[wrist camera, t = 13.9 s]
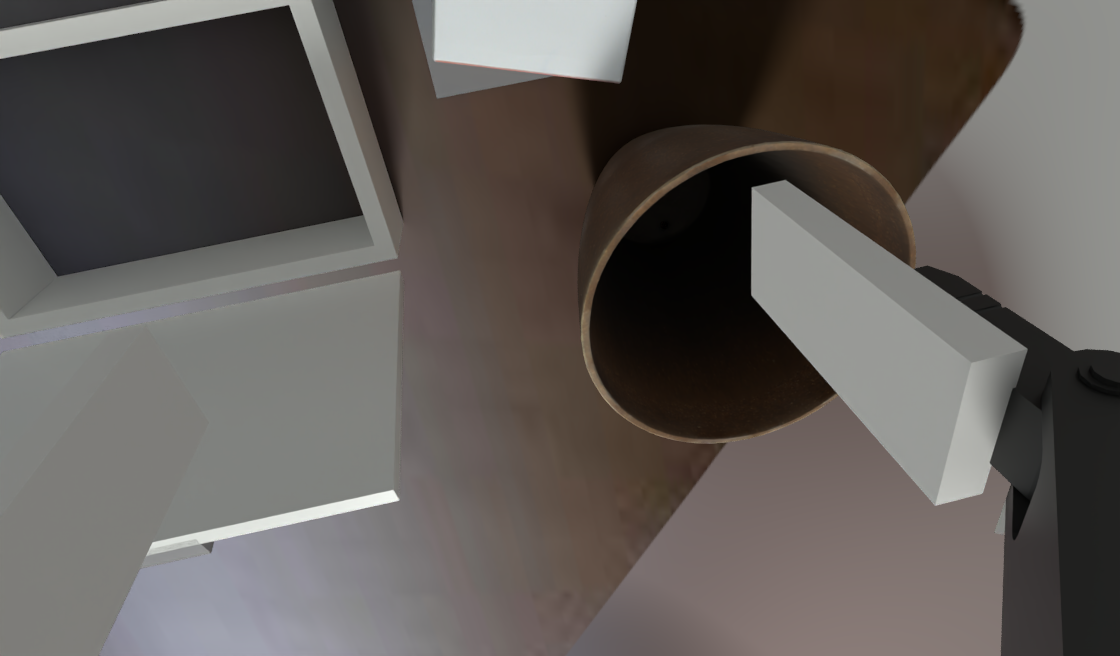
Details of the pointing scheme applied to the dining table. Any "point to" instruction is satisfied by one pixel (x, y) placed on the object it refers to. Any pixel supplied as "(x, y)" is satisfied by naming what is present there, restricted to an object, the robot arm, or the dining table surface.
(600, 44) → the small box
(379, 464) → the lid
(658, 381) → the plant pot
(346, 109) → the white open tray
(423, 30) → the gray mat
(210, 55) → the dining table surface
